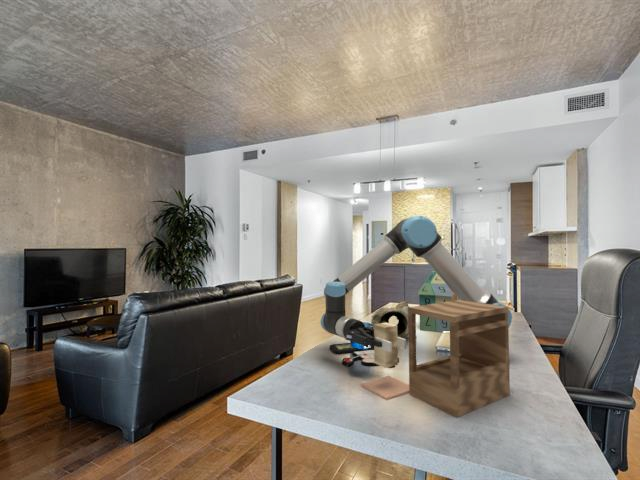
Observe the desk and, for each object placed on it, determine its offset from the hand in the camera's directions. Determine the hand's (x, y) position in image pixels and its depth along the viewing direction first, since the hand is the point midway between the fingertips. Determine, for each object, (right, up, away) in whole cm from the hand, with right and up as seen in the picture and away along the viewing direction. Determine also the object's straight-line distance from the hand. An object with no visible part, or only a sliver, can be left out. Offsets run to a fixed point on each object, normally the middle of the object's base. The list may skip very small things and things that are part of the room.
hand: (398, 345), depth 102 cm
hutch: (+18, -14, -1) cm, 23 cm away
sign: (-3, -15, +35) cm, 39 cm away
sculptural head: (+11, -15, +61) cm, 64 cm away
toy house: (+38, -15, +76) cm, 86 cm away
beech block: (-3, -7, +4) cm, 9 cm away
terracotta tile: (-2, -14, +4) cm, 15 cm away
